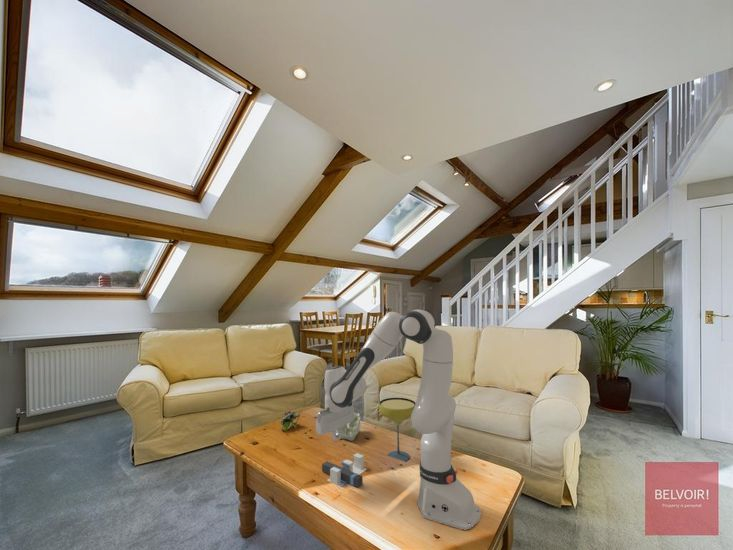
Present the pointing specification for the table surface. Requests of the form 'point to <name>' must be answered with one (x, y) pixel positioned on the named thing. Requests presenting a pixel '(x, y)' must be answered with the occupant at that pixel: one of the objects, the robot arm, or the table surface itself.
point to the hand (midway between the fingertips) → (336, 438)
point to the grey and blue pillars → (349, 465)
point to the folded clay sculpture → (351, 428)
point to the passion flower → (289, 420)
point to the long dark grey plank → (344, 474)
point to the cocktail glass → (397, 418)
